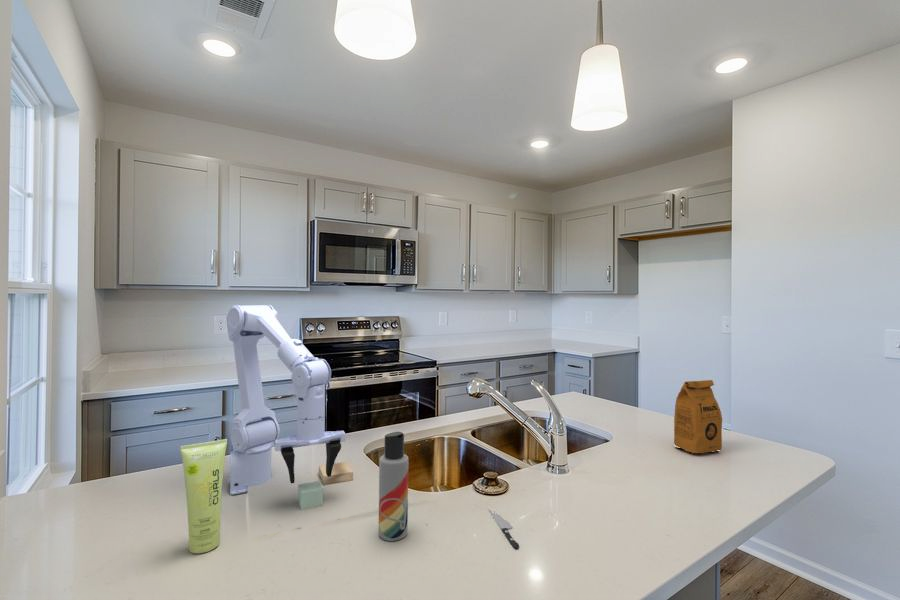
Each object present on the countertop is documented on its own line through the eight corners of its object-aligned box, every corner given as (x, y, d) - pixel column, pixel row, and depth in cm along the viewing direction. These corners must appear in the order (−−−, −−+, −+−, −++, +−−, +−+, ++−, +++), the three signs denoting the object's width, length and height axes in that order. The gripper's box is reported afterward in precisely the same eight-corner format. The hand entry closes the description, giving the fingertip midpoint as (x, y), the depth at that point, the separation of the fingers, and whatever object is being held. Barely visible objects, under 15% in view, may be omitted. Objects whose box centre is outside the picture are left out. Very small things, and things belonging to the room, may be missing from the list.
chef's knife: (494, 503, 99) (482, 503, 99) (495, 498, 99) (482, 498, 99) (529, 550, 81) (514, 551, 80) (529, 544, 81) (514, 545, 80)
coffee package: (727, 455, 131) (729, 382, 130) (693, 458, 128) (695, 384, 127) (701, 443, 140) (702, 376, 140) (669, 446, 137) (670, 377, 137)
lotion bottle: (395, 545, 81) (396, 439, 81) (372, 535, 84) (373, 434, 84) (413, 531, 86) (414, 431, 86) (391, 523, 89) (392, 426, 89)
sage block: (300, 516, 91) (301, 493, 91) (297, 507, 95) (298, 484, 95) (322, 511, 93) (322, 489, 93) (318, 502, 97) (318, 480, 97)
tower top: (323, 484, 103) (323, 476, 103) (318, 473, 109) (318, 465, 109) (352, 479, 106) (353, 471, 106) (346, 469, 112) (346, 461, 112)
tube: (200, 559, 76) (201, 449, 76) (178, 553, 77) (179, 445, 77) (226, 541, 81) (227, 438, 81) (205, 536, 83) (206, 435, 83)
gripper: (277, 425, 87) (276, 492, 87) (348, 416, 94) (348, 479, 94) (274, 416, 93) (273, 478, 93) (341, 409, 100) (340, 467, 100)
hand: (310, 478), depth 94 cm, fingers open, 7 cm apart
